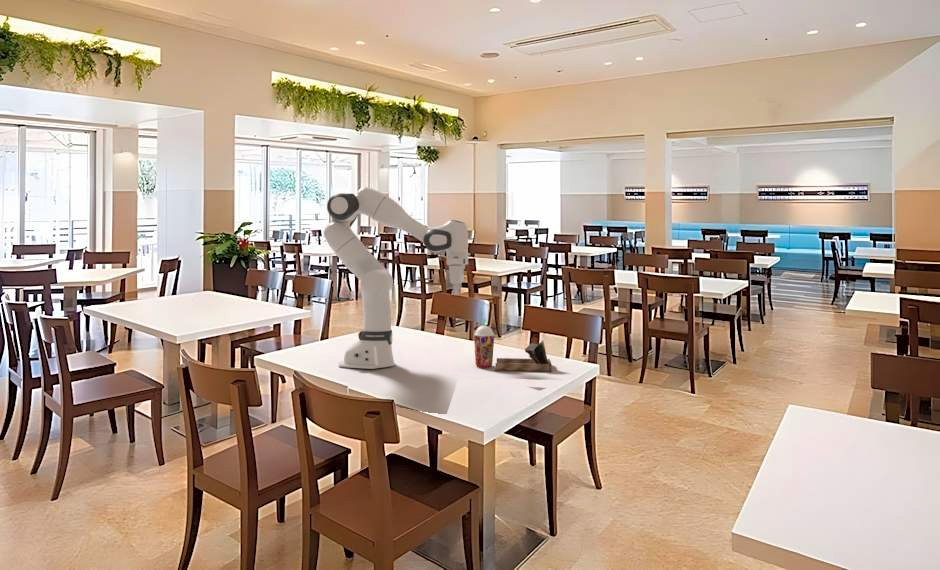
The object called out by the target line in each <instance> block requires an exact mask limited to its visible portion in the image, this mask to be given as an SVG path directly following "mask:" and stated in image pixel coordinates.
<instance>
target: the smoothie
mask: <svg viewBox="0 0 940 570" xmlns="http://www.w3.org/2000/svg"><path fill="white" fill-rule="evenodd" d="M482 324H483V325H481V326H479V327H477V328H476V329H475V332H474V334H473V340H474V343H473V344H474V359H475V362H474V363H475V365H476V367H477V368H478V367H479V369H490V368H491V367H492V366H493V361H494V360H493V357H494V348H495V347H494V344H495V333H494V331H493V329H492V328H491V327H490V326H488V325H486V318H483V323H482Z"/></svg>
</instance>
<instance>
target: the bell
mask: <svg viewBox="0 0 940 570" xmlns="http://www.w3.org/2000/svg"><path fill="white" fill-rule="evenodd" d="M524 352H525V353H526V354H528V355H529V356H528V357H529V359H533V361H534V362H535V363H536V364H548V361H547V359H548V356H547V352H546V348H545V344H544V340H541V342H539V343H533V342H532V343H530V344H529V345H527V346H526V347H525V348H524Z"/></svg>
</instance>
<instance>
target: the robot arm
mask: <svg viewBox="0 0 940 570" xmlns="http://www.w3.org/2000/svg"><path fill="white" fill-rule="evenodd" d="M326 210H327V213H328V214H329V216H330V217H331V221H330V222H329V223H328V224H327V225H325V228H324V230H323V237H324V238H325V240H326V243H327V244H328V245H329V247H330V249H331V250H332V251H333V253H335V255H336V257H338V259H339V260H340V261H341V262H342V263H343V264H344V266H345V267H346V268H347V269H348V270H349V271H350V272H351V273H352V274H353V275H354V276H355V277H356V278H357V279H358V280H359V281H360V284H359V285H360V290H361V292H360V293H361V302H362V303H361V304H362V309H363V311H362V312H363V329H362V330H360V331H359V332H358V334H357V337H358V340H356V341H355V342H354V343H353V344H351V345H350V346H349V347H348V348H347V349H346V350H345V352H344V357H343V360H342V361H340V362H338V367H339V368H350V369H351V368H352V369H353V368H354V369H370V370H372V369H373V370H375V369H380V368H388V367H393V366H395V365H396V363H395V359H394V354H393V345H392V344H393V330H392V309H391V300H390V291H392V289H393V285H394V277H393V276H392V274H391V273H390V272H389V271H388V270H387V269H386V268H385V266H384V265H383V264H382V263H381V262H380V261H379V260H378V259H377V258H376V256H374V255H373V254H372V252H370V250H369V249H368V248H367V247H366V246H365V244H364V243H363V242H362V241H361V239H360V238H359V237H358V236H357V235H356V234H355V232H354V231H353V230H352V229H351V227H352V226H353V225H354V223H355V221H356V220H357V219H358V215H365V216H366V217H369V218H371V219H372V220H374V221H375V222H377V223H379V224H382V225H384V226H386V227H390V228H393V229H397V230H400V231H403V232H405V233H407V234H409V235H410V236H413V237H414V238H415V239H417V240H419V241H420V242H422V243H423V245H424V247H425V248H426V249H427V250H428V251H429V252H430V253H432V254H436V255H439V254H443V253H445V252H446V265H447V266H448V273H449V282H450V284H452V286H453V295H454V296H458V295H460V294H461V293H462V283H464V281H465V274H464V273H465V269H466V266H467V265H469V249H468V245H469V232H468V231H469V230H468V226H467V224H465V223H464V222H463V221H459V220H455V219H452V220H451V219H449V220H448V221H447V222H445V223H444V224H442V225H439V226H438V227H434V228H430V227H428V226H427V225H424V224H422V223H421V222H419V221H418V220H415V219H414V218H413V217H412V216H411V215H409V214H408V212H407V211H405V209H404V208H403V207H402V205H400V204H398V202H397V201H395V200H394V199H392V198H391V197H389V196H388V195H386V194H385V193H382V192H381V191H379V190H376V189H373V188H371V187H368V186H364V187H361V188H360V189H359V190H357V192H356V193H355V194H354V193H346V192H344V193H343V192H341V193H340V192H339V193H335V194H333V195H331V197H329V199H328V201H327V204H326Z"/></svg>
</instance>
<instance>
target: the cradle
mask: <svg viewBox="0 0 940 570" xmlns="http://www.w3.org/2000/svg"><path fill="white" fill-rule="evenodd" d="M547 361H548V364H536V363H535V362H534V361H533V359H532V358H520V357H518V358H513V357H512V358H511V357H510V358H509V357H507V358H505V357H496V362H495V371H496V372H525V373H526V372H528V373H529V372H531V373H537V372H538V373H552V368H553V367H552V362H551V359H550V358H547Z"/></svg>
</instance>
